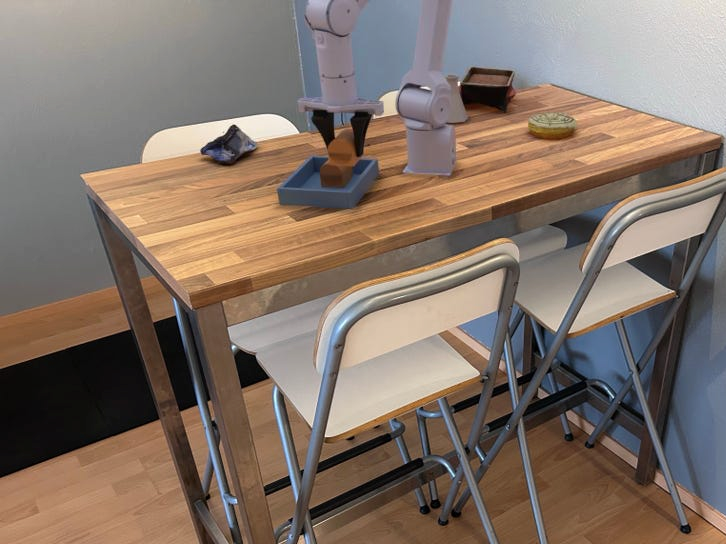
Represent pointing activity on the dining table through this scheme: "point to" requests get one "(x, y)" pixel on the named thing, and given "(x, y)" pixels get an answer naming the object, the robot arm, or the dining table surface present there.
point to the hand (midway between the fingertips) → (346, 154)
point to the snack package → (229, 146)
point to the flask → (455, 101)
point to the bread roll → (343, 150)
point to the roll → (335, 175)
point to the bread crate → (308, 190)
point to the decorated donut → (552, 125)
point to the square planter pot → (487, 87)
